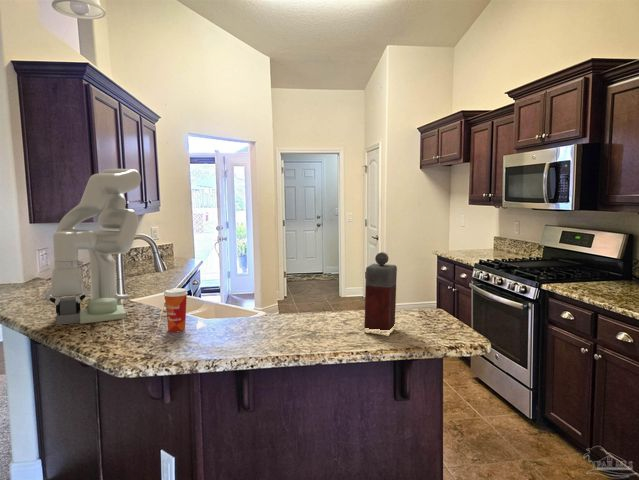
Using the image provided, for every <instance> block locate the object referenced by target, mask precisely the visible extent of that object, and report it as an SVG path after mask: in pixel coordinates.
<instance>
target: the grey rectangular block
mask: <svg viewBox="0 0 639 480" xmlns="http://www.w3.org/2000/svg"><path fill="white" fill-rule="evenodd" d="M59 302H60V315H69V314H76V297H75V296H64V297H60V300H59Z"/></svg>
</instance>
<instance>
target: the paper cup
mask: <svg viewBox="0 0 639 480" xmlns="http://www.w3.org/2000/svg"><path fill="white" fill-rule="evenodd" d="M188 294H189V293H188V291H187V289H186V288H180V287H178V288H177V287H176V288H175V287H174V288H169V289H166V290H165V293H164V295H163V296H165V310H166V311H165V312H166V321H167V323H166V325H167V330H168V332H169V331H170V333H178V332H177V331H181V332H183V331H182V330H184V329H185V330H186V322H187V321H186V319H187V297H188ZM185 330H184V331H185Z"/></svg>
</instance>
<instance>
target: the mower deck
mask: <svg viewBox="0 0 639 480" xmlns="http://www.w3.org/2000/svg"><path fill="white" fill-rule="evenodd" d="M86 304H87V306H86V307H87V308H80V311H78V314H77V313H76V314H69V315H60V316H58V313H56V315H55V325H56V326H57V325H58V326H59V325H66V324H67V325H68V324H74V323H75V324H77V323H80V324H88V323H89V324H91V323H97V322H105V321H115V320H122V319H123V320H124V319H127V314H126V313H127V312H126V309H125V307H124V305H123V304H120V305H117V299H115V298H98V299H93V300H91V299H89V300H88V301H87V302H86Z"/></svg>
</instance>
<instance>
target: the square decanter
mask: <svg viewBox="0 0 639 480" xmlns="http://www.w3.org/2000/svg"><path fill="white" fill-rule="evenodd" d="M374 259H375V262H376V263H375V262H374V263H371V264H370V265H368V266H367V267H366V268H365V284H364V285H365V290H364V291H365V292H364V297H365V298H364V328H369V329H380V330H390V329H391V328H392V327H393V326H394V324H395V325H396V309H397V308H396V305H397V304H396V303H397V275H398V274H397V272H398V269H397V265H395V264H389V263H388V262H389V256H388V254H387V253H386V252H384V251H383V252H382V251H381V252H379V253H377V254H376V255H375V258H374ZM387 263H388V264H387Z"/></svg>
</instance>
